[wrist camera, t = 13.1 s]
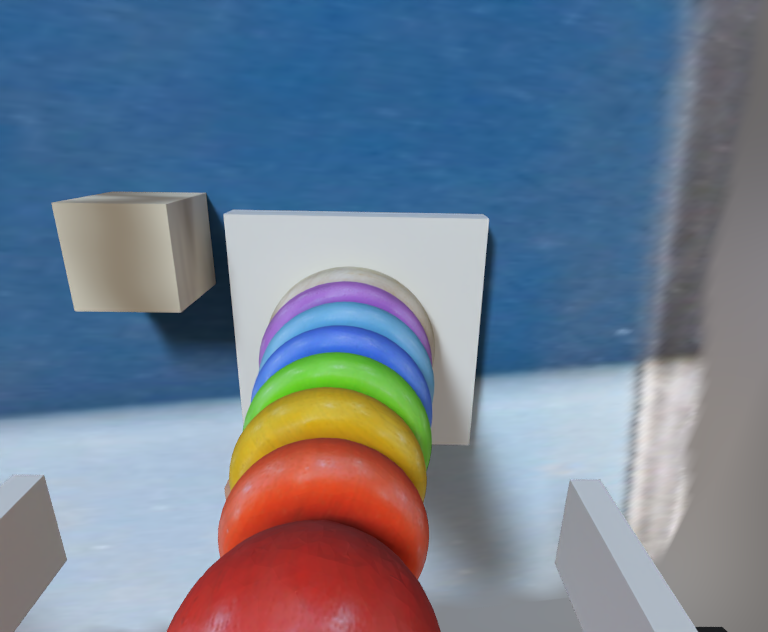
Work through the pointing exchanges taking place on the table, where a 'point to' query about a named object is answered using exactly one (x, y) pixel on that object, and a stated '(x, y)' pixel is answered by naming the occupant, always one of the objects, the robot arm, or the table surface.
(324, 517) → the stacking toy
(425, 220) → the white square slab
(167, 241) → the birch block
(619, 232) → the table surface
